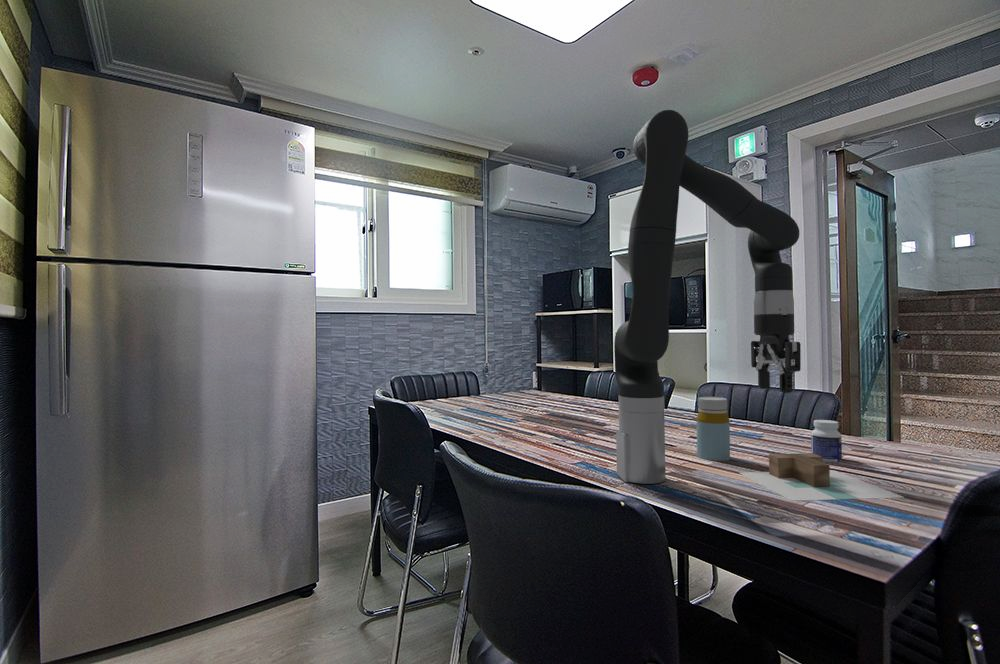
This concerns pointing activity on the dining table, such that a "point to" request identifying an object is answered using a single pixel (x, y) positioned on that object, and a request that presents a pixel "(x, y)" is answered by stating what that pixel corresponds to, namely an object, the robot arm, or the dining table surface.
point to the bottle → (713, 429)
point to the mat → (838, 489)
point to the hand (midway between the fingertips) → (774, 390)
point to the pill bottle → (827, 440)
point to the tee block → (800, 468)
